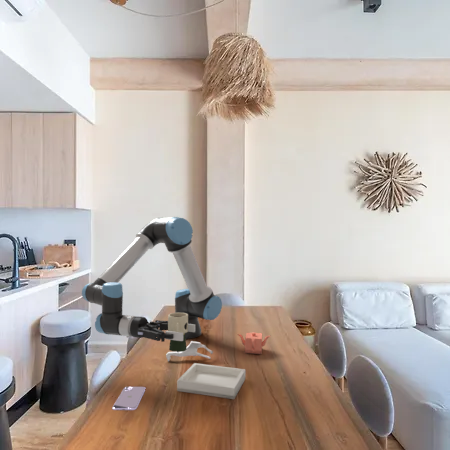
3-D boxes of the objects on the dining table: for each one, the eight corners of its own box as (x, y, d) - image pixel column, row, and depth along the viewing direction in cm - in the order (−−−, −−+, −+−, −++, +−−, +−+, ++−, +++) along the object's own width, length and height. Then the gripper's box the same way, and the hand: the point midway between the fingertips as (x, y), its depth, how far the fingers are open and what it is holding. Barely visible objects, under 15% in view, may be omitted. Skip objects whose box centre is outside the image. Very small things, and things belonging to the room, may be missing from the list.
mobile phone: (110, 407, 110) (124, 385, 125) (110, 411, 110) (124, 388, 125) (136, 408, 110) (146, 385, 125) (136, 411, 110) (146, 388, 125)
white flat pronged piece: (203, 372, 153) (164, 358, 150) (214, 347, 153) (174, 332, 151) (204, 374, 151) (164, 360, 148) (214, 349, 151) (175, 334, 149)
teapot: (270, 357, 154) (270, 337, 154) (235, 355, 156) (235, 336, 156) (270, 347, 166) (271, 329, 166) (238, 346, 168) (238, 328, 168)
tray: (194, 372, 138) (194, 363, 138) (245, 378, 132) (245, 369, 132) (177, 390, 122) (177, 380, 122) (234, 399, 117) (234, 388, 117)
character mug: (188, 355, 125) (188, 318, 125) (167, 356, 124) (167, 318, 124) (187, 345, 136) (187, 310, 136) (168, 346, 135) (168, 311, 135)
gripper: (149, 328, 146) (200, 333, 139) (116, 346, 125) (175, 353, 118) (149, 309, 146) (200, 314, 139) (116, 324, 125) (175, 330, 118)
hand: (189, 332), depth 129 cm, fingers closed on character mug, 10 cm apart
